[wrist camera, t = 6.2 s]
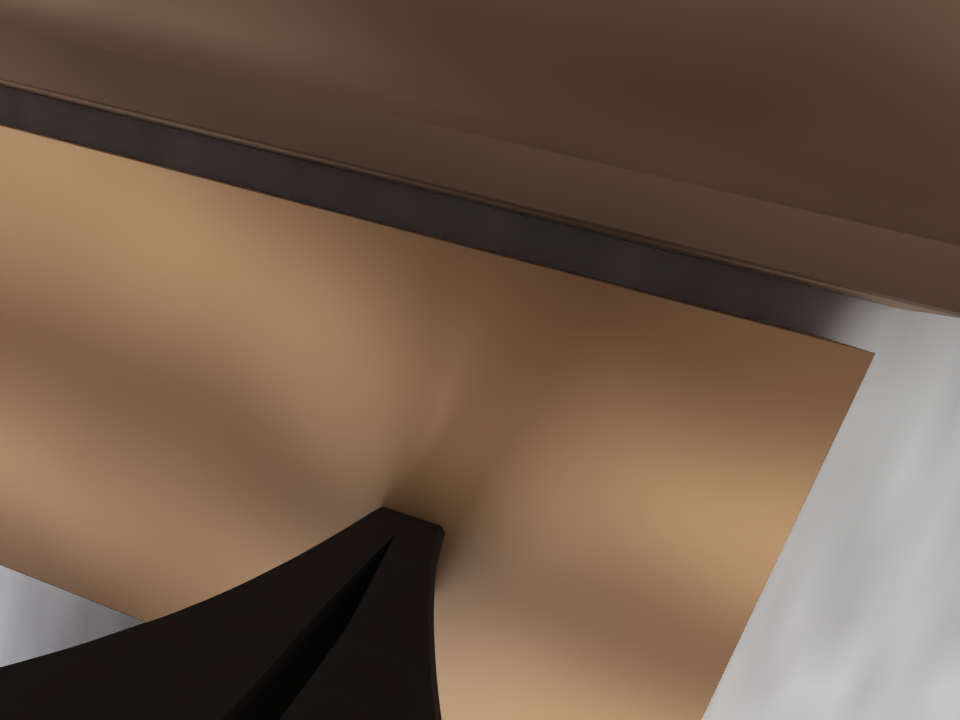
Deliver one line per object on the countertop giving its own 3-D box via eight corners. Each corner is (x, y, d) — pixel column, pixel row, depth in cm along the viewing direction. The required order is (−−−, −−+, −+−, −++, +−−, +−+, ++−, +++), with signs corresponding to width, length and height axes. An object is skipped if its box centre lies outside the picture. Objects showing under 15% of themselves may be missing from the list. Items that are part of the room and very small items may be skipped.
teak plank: (641, 747, 11) (652, 821, 9) (-229, 420, 14) (-320, 439, 13) (822, 337, 8) (875, 353, 7) (-280, 50, 12) (-401, 21, 10)
